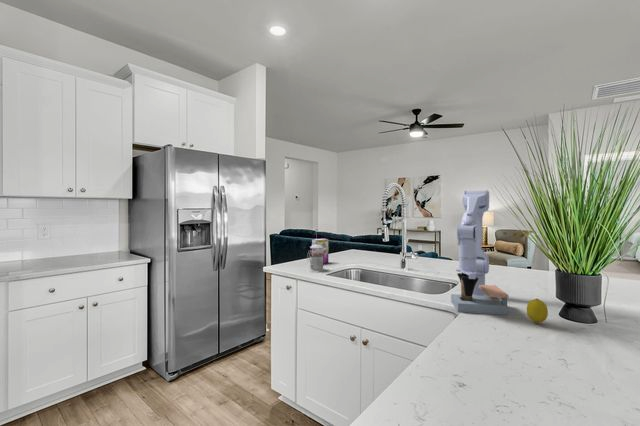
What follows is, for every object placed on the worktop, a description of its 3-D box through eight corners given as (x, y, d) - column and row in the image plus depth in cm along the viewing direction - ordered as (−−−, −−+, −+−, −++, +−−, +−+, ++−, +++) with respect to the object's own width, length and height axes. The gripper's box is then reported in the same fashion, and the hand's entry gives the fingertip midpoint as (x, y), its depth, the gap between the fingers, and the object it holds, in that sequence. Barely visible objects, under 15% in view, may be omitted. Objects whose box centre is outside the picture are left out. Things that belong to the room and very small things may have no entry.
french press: (328, 269, 187) (328, 228, 186) (314, 272, 179) (313, 229, 178) (317, 267, 194) (316, 227, 193) (302, 270, 186) (302, 228, 185)
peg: (460, 298, 117) (460, 277, 117) (471, 299, 116) (470, 278, 116) (462, 301, 114) (461, 279, 113) (473, 302, 113) (472, 280, 112)
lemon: (551, 327, 95) (551, 301, 95) (531, 326, 96) (531, 300, 96) (542, 321, 100) (542, 296, 100) (523, 319, 102) (523, 295, 101)
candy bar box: (316, 265, 202) (316, 240, 202) (311, 264, 206) (311, 239, 206) (329, 263, 210) (328, 238, 209) (324, 262, 214) (324, 238, 213)
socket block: (451, 301, 122) (451, 283, 122) (495, 303, 119) (495, 285, 119) (458, 312, 109) (458, 292, 109) (508, 315, 106) (508, 294, 106)
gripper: (451, 254, 123) (451, 288, 123) (460, 260, 108) (460, 299, 109) (471, 255, 121) (471, 289, 121) (482, 261, 107) (482, 300, 107)
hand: (467, 294), depth 115 cm, fingers closed on peg, 4 cm apart
